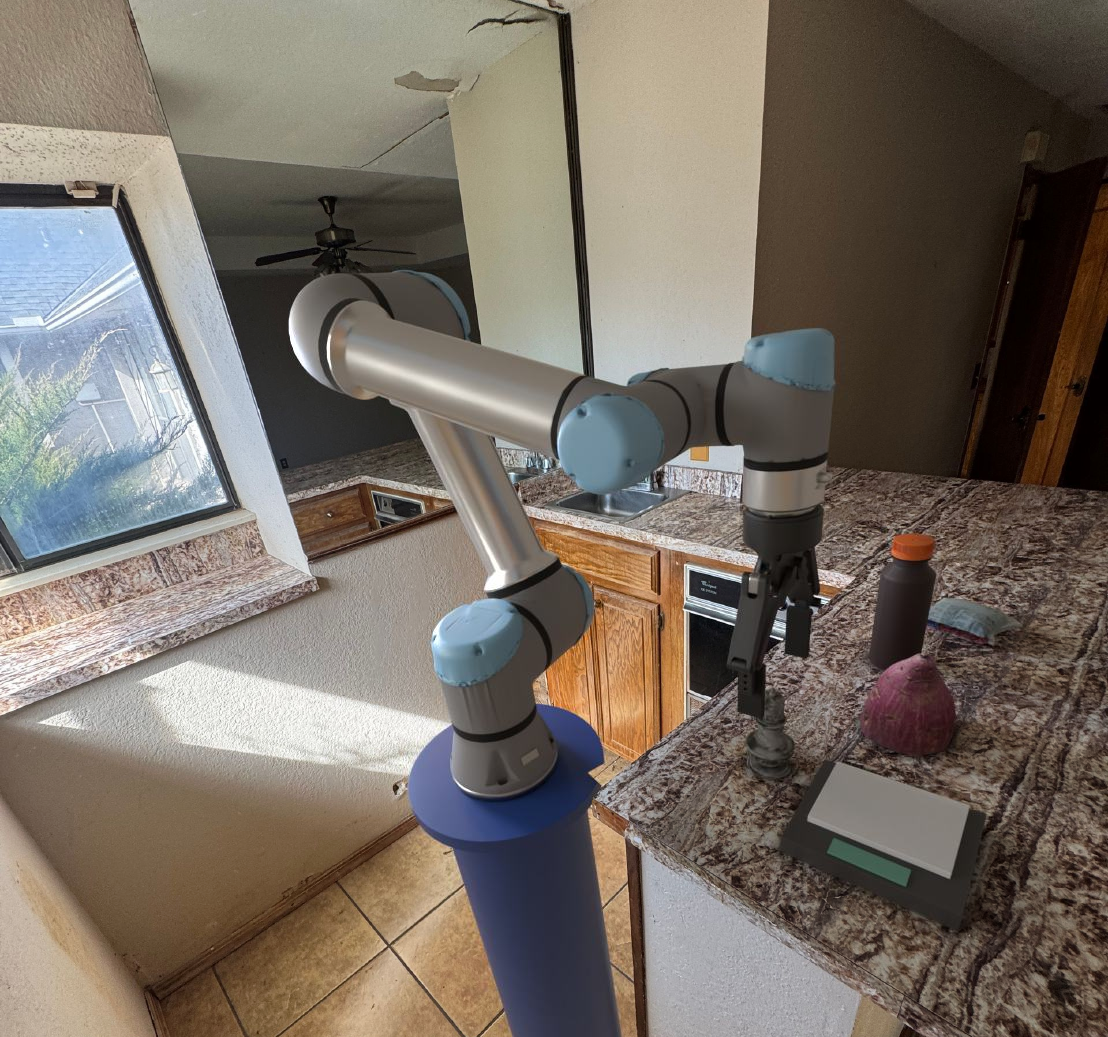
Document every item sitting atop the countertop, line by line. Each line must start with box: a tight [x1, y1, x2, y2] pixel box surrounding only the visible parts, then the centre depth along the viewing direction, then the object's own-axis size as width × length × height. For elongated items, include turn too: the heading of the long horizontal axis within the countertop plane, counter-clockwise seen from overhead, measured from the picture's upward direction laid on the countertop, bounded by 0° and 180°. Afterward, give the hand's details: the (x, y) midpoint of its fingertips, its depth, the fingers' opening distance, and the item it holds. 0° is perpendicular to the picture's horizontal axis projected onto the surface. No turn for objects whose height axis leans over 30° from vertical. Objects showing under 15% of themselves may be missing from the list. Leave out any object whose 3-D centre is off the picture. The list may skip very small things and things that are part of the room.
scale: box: [779, 759, 988, 932], centre depth 60 cm, size 16×14×3 cm
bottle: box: [868, 532, 937, 671], centre depth 83 cm, size 7×7×20 cm
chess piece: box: [744, 687, 796, 781], centre depth 70 cm, size 6×6×12 cm
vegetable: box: [860, 652, 957, 757], centre depth 70 cm, size 10×10×15 cm
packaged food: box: [926, 596, 1024, 646], centre depth 91 cm, size 9×12×5 cm
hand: (775, 682), depth 66 cm, fingers open, 13 cm apart
